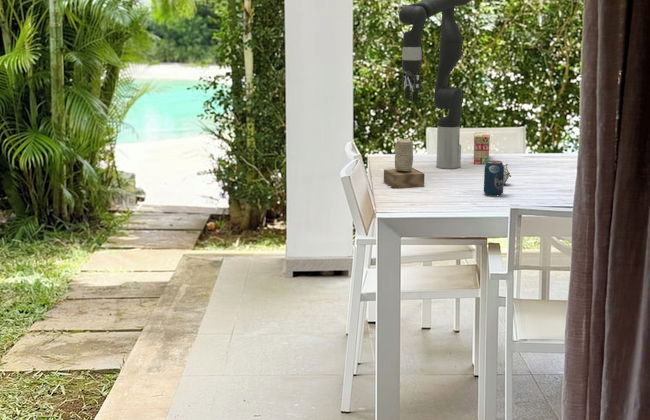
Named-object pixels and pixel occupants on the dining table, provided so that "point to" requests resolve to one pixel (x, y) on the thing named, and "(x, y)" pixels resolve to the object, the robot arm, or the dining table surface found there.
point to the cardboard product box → (481, 147)
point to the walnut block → (403, 178)
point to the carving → (404, 155)
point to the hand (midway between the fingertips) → (411, 100)
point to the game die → (506, 174)
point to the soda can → (493, 178)
